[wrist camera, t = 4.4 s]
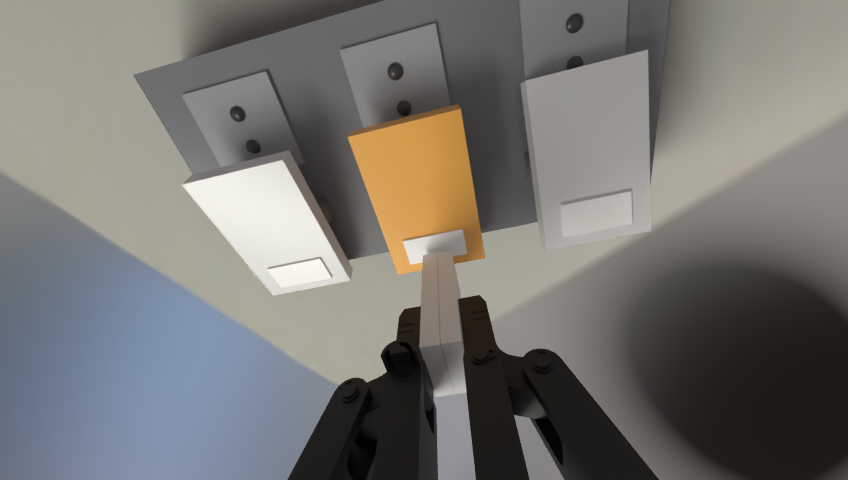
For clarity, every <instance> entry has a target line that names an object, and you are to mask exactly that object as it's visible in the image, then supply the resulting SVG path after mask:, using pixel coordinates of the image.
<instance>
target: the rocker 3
mask: <svg viewBox="0 0 848 480" xmlns="http://www.w3.org/2000/svg"><path fill="white" fill-rule="evenodd" d="M520 85H521V93H522V101H523V109H524V117H525V125H526V133H527V141H528V149H529V156H530V164H531V172H532V180H533V188H534V196H535V204H536V212H537V220H538V228H539V236H540V243H541V245H542V246H543V248H544V249H545V250H546V251H548V250H553V249H558V248H563V247H569V246H574V245H579V244H585V243H590V242H595V241H600V240H606V239H611V238H616V237H621V236H627V235H632V234H637V233H642V232H648V231H651V205H650V142H649V79H648V50H644V51H640V52H636V53H632V54H628V55H625V56H621V57H617V58H613V59H609V60H605V61H601V62H597V63H593V64H589V65H585V66H581V67H577V68H573V69H569V70H565V71H561V72H558V73H554V74H550V75H546V76H542V77H538V78H534V79H530V80H526V81H524V82H523V83H521V84H520Z"/></svg>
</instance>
